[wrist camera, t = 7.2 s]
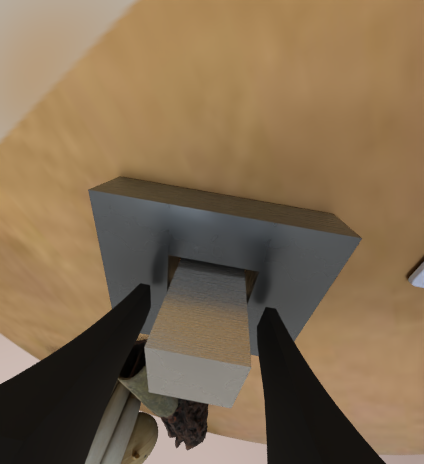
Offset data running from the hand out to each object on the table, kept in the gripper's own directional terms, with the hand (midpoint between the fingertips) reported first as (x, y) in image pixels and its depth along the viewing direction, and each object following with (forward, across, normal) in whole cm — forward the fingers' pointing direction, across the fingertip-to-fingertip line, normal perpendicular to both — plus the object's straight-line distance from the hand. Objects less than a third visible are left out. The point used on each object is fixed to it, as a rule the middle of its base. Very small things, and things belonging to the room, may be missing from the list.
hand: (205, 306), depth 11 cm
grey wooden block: (+4, 0, 0) cm, 4 cm away
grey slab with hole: (+4, 0, 0) cm, 4 cm away
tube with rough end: (+4, +2, +20) cm, 21 cm away
